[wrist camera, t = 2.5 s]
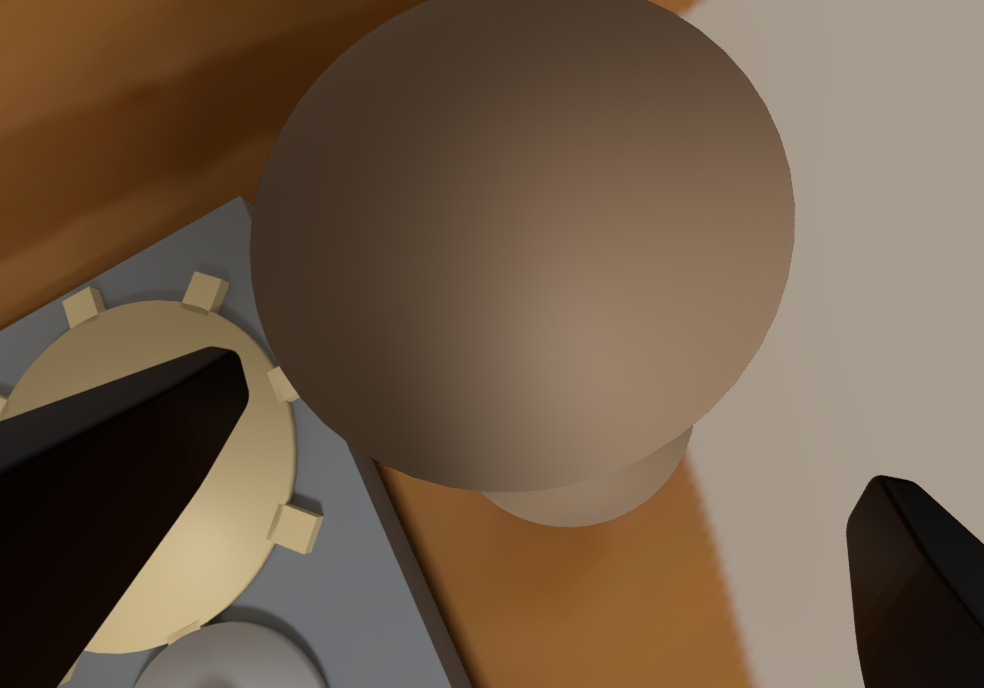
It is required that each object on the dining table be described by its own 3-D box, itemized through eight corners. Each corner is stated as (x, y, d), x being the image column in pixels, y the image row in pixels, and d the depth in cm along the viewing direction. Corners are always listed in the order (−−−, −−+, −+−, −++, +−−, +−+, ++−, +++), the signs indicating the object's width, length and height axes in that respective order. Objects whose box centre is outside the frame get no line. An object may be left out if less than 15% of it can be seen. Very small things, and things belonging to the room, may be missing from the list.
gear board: (518, 793, 15) (503, 866, 12) (3, 1053, 16) (-122, 1176, 13) (265, 214, 20) (213, 174, 17) (-121, 431, 21) (-230, 425, 18)
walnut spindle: (736, 451, 16) (1249, 383, 4) (514, 567, 16) (283, 873, 4) (610, 246, 18) (660, -266, 5) (412, 354, 18) (28, 101, 6)
